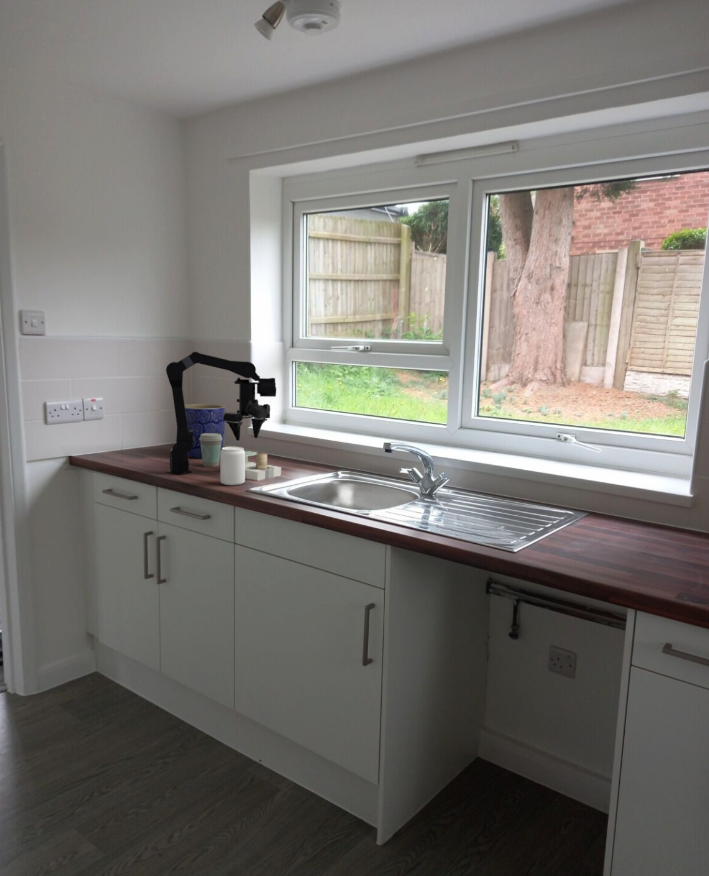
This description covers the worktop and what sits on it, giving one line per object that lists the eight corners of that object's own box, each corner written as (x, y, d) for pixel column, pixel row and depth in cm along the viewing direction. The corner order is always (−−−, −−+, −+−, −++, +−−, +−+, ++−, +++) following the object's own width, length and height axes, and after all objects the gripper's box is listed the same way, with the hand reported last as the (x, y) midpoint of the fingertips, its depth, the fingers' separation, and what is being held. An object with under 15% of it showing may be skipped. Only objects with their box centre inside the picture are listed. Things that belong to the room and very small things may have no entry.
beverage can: (239, 486, 225) (239, 450, 223) (216, 485, 227) (216, 449, 225) (248, 481, 233) (248, 447, 231) (226, 480, 235) (226, 445, 233)
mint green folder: (225, 472, 247) (225, 453, 246) (244, 468, 255) (244, 450, 254) (238, 475, 244) (238, 455, 243) (257, 471, 252) (257, 452, 251)
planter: (174, 453, 284) (174, 404, 281) (218, 451, 292) (218, 403, 289) (185, 461, 268) (184, 408, 265) (230, 458, 276) (231, 407, 273)
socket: (225, 474, 245) (225, 466, 244) (248, 469, 254) (248, 461, 254) (259, 480, 235) (259, 472, 235) (282, 475, 245) (282, 467, 244)
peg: (253, 476, 242) (253, 454, 241) (261, 474, 245) (261, 453, 244) (261, 478, 240) (261, 455, 239) (269, 476, 243) (269, 454, 242)
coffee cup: (198, 463, 263) (198, 433, 261) (221, 463, 265) (221, 432, 264) (200, 468, 255) (199, 436, 253) (223, 467, 257) (223, 435, 256)
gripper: (244, 399, 235) (244, 444, 237) (281, 396, 250) (280, 438, 252) (222, 397, 241) (222, 441, 243) (258, 394, 256) (258, 435, 258)
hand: (247, 439), depth 249 cm, fingers open, 9 cm apart
